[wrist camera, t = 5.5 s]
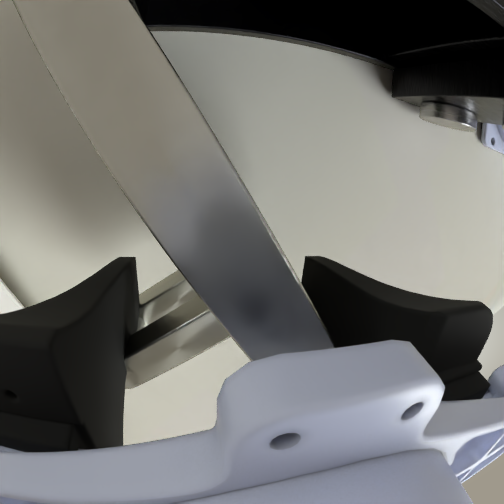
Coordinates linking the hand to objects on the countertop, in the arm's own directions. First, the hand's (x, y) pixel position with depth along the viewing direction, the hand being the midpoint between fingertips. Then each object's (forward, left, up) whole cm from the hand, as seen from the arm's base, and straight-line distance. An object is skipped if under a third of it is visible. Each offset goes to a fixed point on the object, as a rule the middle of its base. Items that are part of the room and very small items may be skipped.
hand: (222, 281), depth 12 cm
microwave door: (+3, -2, -4) cm, 5 cm away
